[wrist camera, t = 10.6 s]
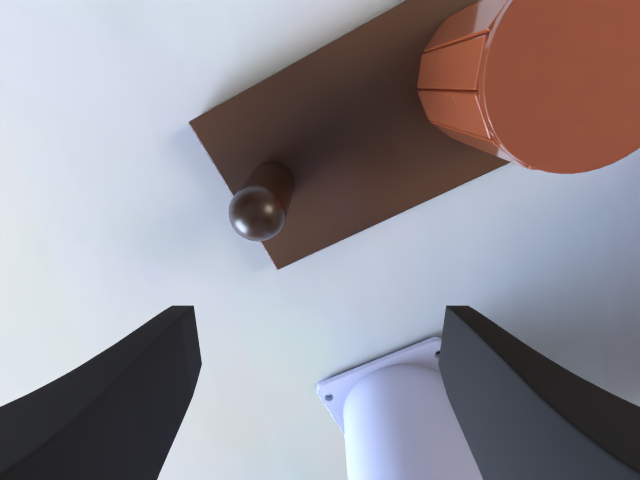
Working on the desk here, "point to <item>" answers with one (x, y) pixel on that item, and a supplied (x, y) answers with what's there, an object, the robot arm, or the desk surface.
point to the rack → (338, 138)
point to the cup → (538, 81)
